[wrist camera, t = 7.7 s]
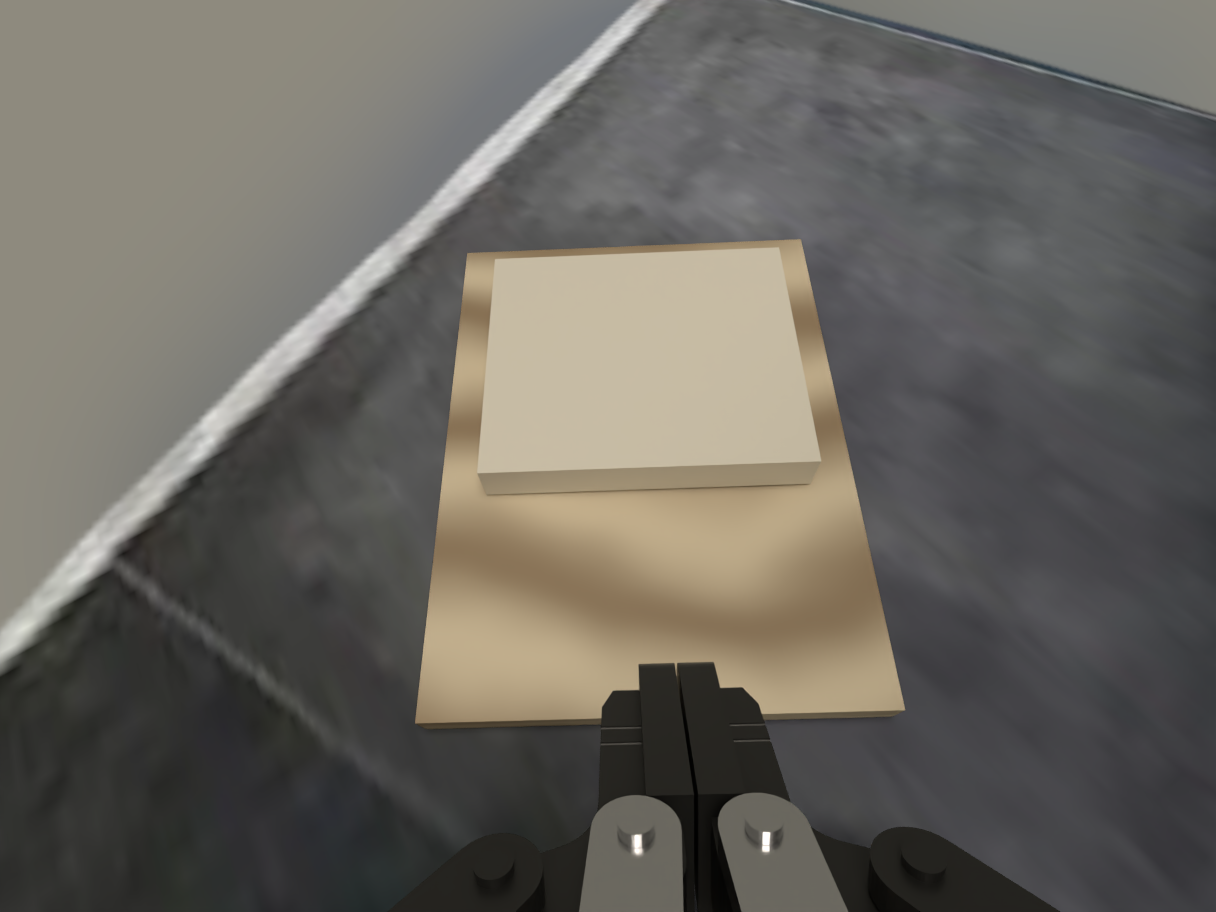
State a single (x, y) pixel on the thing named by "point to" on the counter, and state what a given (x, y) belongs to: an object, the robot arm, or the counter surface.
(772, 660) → the board
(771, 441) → the tile
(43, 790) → the counter surface
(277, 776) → the counter surface
